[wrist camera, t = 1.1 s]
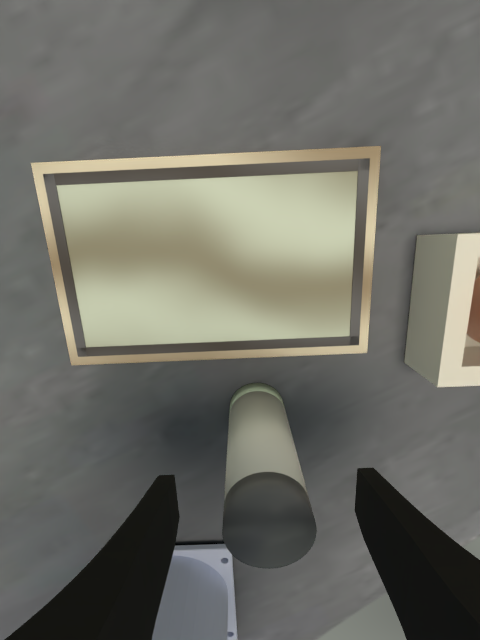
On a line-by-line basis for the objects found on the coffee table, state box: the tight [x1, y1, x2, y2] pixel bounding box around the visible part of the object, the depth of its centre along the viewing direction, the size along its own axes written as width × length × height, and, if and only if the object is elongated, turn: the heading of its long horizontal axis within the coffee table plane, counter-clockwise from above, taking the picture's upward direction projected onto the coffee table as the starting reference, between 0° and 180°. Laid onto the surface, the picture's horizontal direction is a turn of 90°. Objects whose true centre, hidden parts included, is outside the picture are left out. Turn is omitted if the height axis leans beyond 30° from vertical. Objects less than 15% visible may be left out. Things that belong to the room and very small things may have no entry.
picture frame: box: [31, 146, 381, 365], centre depth 15 cm, size 10×16×1 cm, turn 93°
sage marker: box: [222, 383, 316, 568], centre depth 14 cm, size 3×3×8 cm
